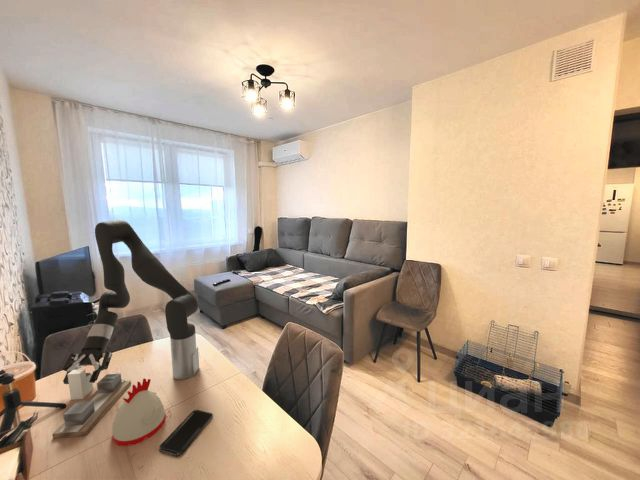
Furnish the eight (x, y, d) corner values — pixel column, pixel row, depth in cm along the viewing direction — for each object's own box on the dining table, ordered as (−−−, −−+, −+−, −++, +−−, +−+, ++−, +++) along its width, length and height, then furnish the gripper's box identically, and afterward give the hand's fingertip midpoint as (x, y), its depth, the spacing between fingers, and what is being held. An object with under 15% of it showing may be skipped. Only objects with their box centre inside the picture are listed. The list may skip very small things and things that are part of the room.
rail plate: (130, 383, 102) (129, 369, 101) (85, 435, 79) (83, 417, 78) (106, 385, 100) (104, 370, 100) (52, 438, 78) (50, 419, 77)
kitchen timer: (175, 416, 87) (172, 375, 85) (133, 452, 74) (129, 405, 72) (145, 404, 91) (142, 365, 89) (101, 437, 79) (96, 392, 77)
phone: (157, 448, 74) (194, 409, 89) (157, 451, 74) (194, 411, 89) (179, 455, 72) (214, 414, 87) (180, 459, 72) (214, 417, 87)
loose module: (93, 389, 99) (90, 364, 97) (83, 398, 94) (79, 373, 92) (81, 389, 98) (78, 365, 97) (70, 399, 93) (67, 374, 92)
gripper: (72, 335, 100) (49, 382, 91) (112, 334, 102) (94, 380, 92) (85, 341, 106) (64, 386, 97) (122, 339, 108) (106, 383, 98)
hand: (79, 383), depth 95 cm, fingers open, 8 cm apart
